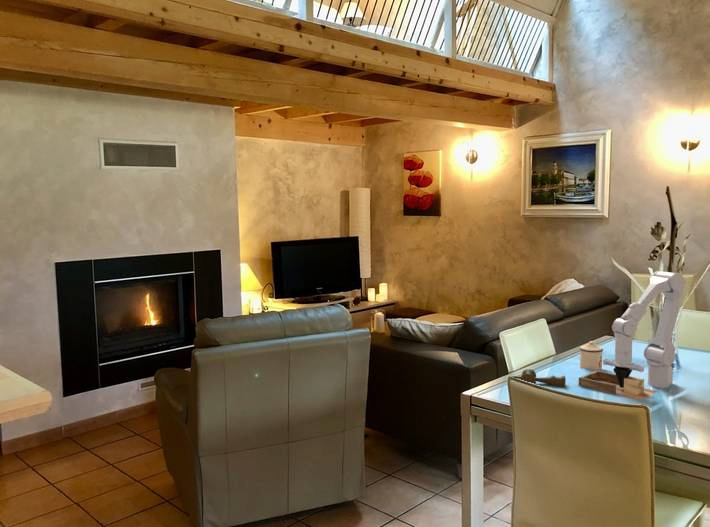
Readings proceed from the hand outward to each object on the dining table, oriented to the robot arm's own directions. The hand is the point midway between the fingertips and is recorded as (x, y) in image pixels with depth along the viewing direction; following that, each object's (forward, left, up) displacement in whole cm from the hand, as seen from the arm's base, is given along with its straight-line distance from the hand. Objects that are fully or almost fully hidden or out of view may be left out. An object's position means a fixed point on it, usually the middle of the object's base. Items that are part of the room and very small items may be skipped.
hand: (622, 387), depth 218 cm
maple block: (0, +4, -1) cm, 4 cm away
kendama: (+16, -25, -2) cm, 30 cm away
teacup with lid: (-22, -24, -2) cm, 33 cm away
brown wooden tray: (0, -2, -2) cm, 3 cm away
